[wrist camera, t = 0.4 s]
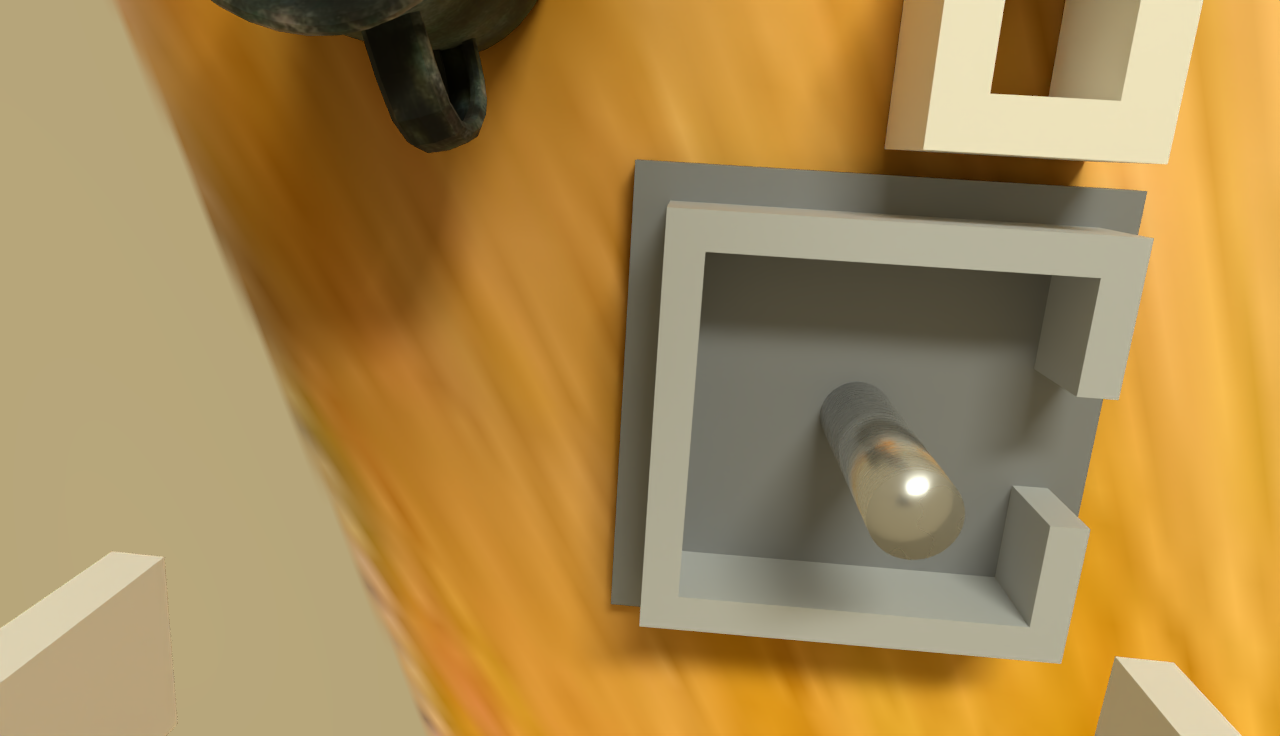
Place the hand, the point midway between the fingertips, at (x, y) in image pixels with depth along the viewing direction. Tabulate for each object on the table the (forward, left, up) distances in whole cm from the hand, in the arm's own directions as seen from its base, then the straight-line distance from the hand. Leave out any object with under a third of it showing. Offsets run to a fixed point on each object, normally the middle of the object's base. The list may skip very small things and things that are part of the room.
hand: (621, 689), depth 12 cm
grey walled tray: (+3, +8, -25) cm, 27 cm away
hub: (-14, +12, -25) cm, 32 cm away
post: (+3, +8, -24) cm, 26 cm away
